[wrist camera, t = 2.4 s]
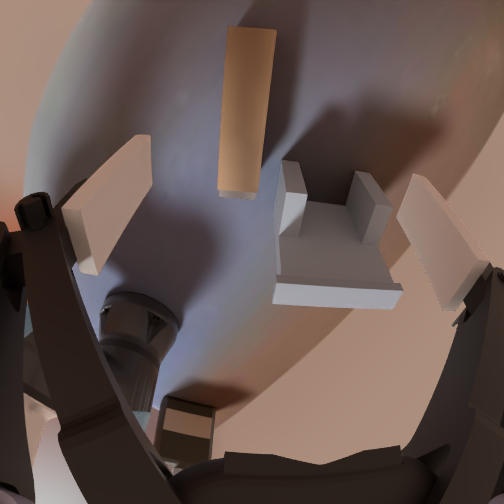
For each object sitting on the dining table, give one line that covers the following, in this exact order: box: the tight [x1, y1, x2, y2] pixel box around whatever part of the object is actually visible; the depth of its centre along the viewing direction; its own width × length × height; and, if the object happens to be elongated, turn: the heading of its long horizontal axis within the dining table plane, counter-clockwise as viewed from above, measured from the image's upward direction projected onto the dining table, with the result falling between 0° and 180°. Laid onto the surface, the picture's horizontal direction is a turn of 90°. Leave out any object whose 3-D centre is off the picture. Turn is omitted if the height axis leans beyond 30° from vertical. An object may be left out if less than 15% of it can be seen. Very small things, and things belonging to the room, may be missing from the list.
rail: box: [217, 26, 277, 200], centre depth 27 cm, size 4×17×6 cm, turn 175°
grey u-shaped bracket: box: [272, 160, 403, 309], centre depth 30 cm, size 12×7×15 cm, turn 85°
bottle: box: [153, 396, 215, 475], centre depth 70 cm, size 8×16×25 cm, turn 67°
